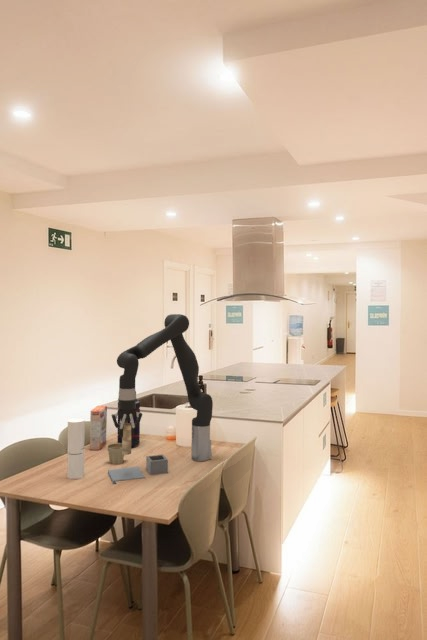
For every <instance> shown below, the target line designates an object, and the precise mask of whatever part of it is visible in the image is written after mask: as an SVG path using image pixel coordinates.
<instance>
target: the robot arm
mask: <svg viewBox="0 0 427 640" xmlns="http://www.w3.org/2000/svg"><path fill="white" fill-rule="evenodd" d="M163 323H164V328H163V329H161V330H159V331H157V332H155V333H153V334H152V333H151V334H150V335H149V336H147V337H145V338H144V339H142V340H141V341H139V342H138V343H137V344H136V345H134V346H132V347H130V348H128V349H126V350H124V351H123V352H121V353H120V354H119V355H118V356H117V359H116V364H117V366H118V367H119V368H121V369H123V374H121V375H120V376H119V384H118V385H119V389H118V397H119V401H118V402H119V407H118V406H117V412H116V413H111V415H110V416H111V418H112V422H113V424H114V426H115V428H116V429H118V428H119V435H120V436H121V437H123V429H122V428H123V424H124V422H125V421H130V424H131V436H133V435H134V434H135V427H136V426H139V423H140V422H141V420H142V418H143V413H142V412H141V411H140V412H137V411H136V399H137V391H136V377H137V375H138V369H139V366H140V363H139V360H141V359H145V358H146V357H148V356H149V355H150V354H152V353H153V352H155V351H156V350H157V349H159V348H160V347H161V346H162V345H165V344H166V343H167V342H169V341H170V342H171V345H172V349H173V351H174V354H175V357H176V361H177V363H178V367H179V369H180V372H181V375H182V379H183V382H184V386H185V390H186V394H187V399H188V403H189V406H190V407H191V409H193V410H195V411H196V416H195V417H193V418H192V419H191V454H190V455H191V460H192V461H194V462H206V461H209V460H212V440H211V420H212V418H213V408H214V403H213V398H212V396H211V395H210V394H208V393H205V392H202V391H201V387H200V385H199V380H198V378H199V371H200V366H199V363H198V360H197V356H196V353H195V352H194V350H192V348H191V347H190V346H189V344H188V343H187V341H186V340H185V337H184V335H183V333H185V332H186V331H187V330H188V329H189V327H190V320H189V318H188V317H187V316H186V315H184V314H176V313H174V314H173V313H171V314H168V315H166V317H165V319H164V322H163ZM135 415H137V419H136V422H135V423H134V421H133V418H134V416H135ZM118 416H119V417H120V418H121V419H120V424H119V425H118ZM140 424H141V423H140Z"/></svg>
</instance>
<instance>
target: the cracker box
mask: <svg viewBox="0 0 427 640" xmlns="http://www.w3.org/2000/svg"><path fill="white" fill-rule="evenodd" d="M107 417H108V406H107V405H97V406H95V407H94V408H92V409H91V410H90V422H89V423H90V426H89V427H90V428H89V429H90V430H89V450H91V451H101V449H102V448H103V447H104V446H105V445H106V444H107V427H108V426H107V423H108V422H107V421H108V420H107V419H108V418H107Z"/></svg>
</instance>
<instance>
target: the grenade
mask: <svg viewBox="0 0 427 640" xmlns="http://www.w3.org/2000/svg"><path fill="white" fill-rule="evenodd" d="M118 407H119V396H118V398H117V408H118ZM140 408H141V401H140V400H138V399H137V398H136V411H137V412H141V409H140ZM120 419H121V418H120V417H119V416H117V423H118V425H119V424H120ZM136 419H137V415H135V416H134V418H133V421H134V423H135V422H136ZM125 423H130V421H125V422H124V424H125ZM140 426H141V423H139V426H136V427H135V434H134V435H133V436H131V449H135V448H136V447H137V446H138V445H140V441H141V440H140V436H141V435H140V433H141V431H140V430H141V429H140V428H141V427H140ZM117 443H122V437H121V436H120V435H119V428H117Z"/></svg>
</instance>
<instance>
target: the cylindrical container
mask: <svg viewBox="0 0 427 640" xmlns="http://www.w3.org/2000/svg"><path fill="white" fill-rule="evenodd" d="M66 470H67V478H68V479H71V480H77V479H82V478H83V477H85V419H84V418H70V419H68V420H67V467H66Z"/></svg>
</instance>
